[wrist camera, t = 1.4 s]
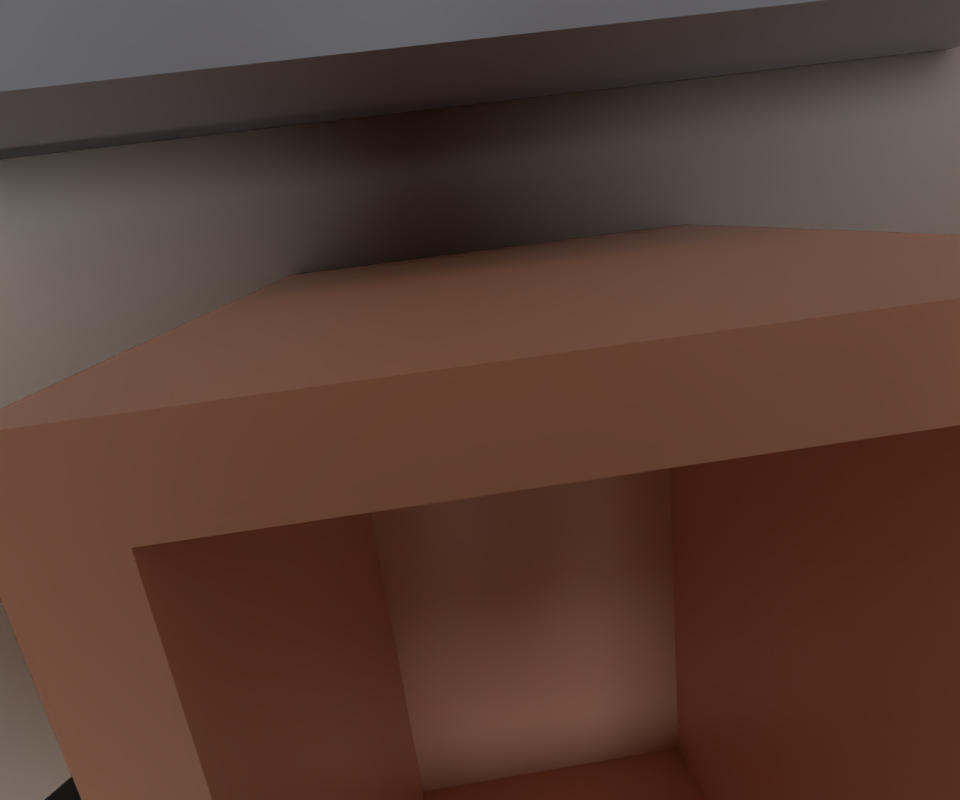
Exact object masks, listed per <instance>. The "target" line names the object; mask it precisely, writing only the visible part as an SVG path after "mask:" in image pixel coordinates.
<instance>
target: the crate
mask: <svg viewBox="0 0 960 800" xmlns="http://www.w3.org/2000/svg"><path fill="white" fill-rule="evenodd" d="M957 46H960V0H0V159H4V158H13V157H21V156H30V155H39V154H47V153H56V152H64V151H73V150H82V149H90V148H99V147H108V146H116V145H125V144H133V143H142V142H151V141H159V140H168V139H177V138H185V137H194V136H202V135H211V134H220V133H228V132H237V131H245V130H254V129H263V128H271V127H280V126H289V125H297V124H306V123H314V122H323V121H332V120H340V119H349V118H358V117H366V116H375V115H383V114H392V113H401V112H409V111H418V110H427V109H435V108H444V107H452V106H461V105H470V104H478V103H487V102H495V101H504V100H513V99H521V98H530V97H539V96H547V95H556V94H564V93H573V92H582V91H590V90H599V89H608V88H616V87H625V86H633V85H642V84H651V83H659V82H668V81H676V80H685V79H694V78H702V77H711V76H720V75H728V74H737V73H745V72H754V71H763V70H771V69H780V68H789V67H797V66H806V65H814V64H823V63H832V62H840V61H849V60H857V59H866V58H875V57H883V56H892V55H901V54H909V53H918V52H926V51H935V50H944V49H951V48H954V47H957Z"/></svg>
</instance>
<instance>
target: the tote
mask: <svg viewBox="0 0 960 800" xmlns="http://www.w3.org/2000/svg"><path fill="white" fill-rule="evenodd" d="M0 599H1V602H2V604H3V606H4V609H5V611H6V614H7V616H8V619H9V621H10V624H11V626H12V629H13V631H14V634H15V636H16V639H17V641H18V644H19V646H20V649H21V651H22V654H23V656H24V659H25V661H26V664H27V666H28V669H29V671H30V673H31V676H32V678H33V681H34V683H35V686H36V688H37V691H38V693H39V696H40V698H41V701H42V703H43V706H44V708H45V711H46V713H47V716H48V718H49V721H50V723H51V726H52V728H53V731H54V733H55V735H56V738H57V740H58V743H59V745H60V748H61V750H62V753H63V755H64V758H65V760H66V763H67V765H68V768H69V770H70V773H71V775H72V778H73V780H74V783H75V785H76V788H77V790H78V793H79V795H80V797H81V800H960V235H951V234H925V233H899V232H873V231H847V230H821V229H795V228H769V227H743V226H717V225H691V224H685V225H677V226H669V227H662V228H654V229H646V230H638V231H630V232H623V233H615V234H607V235H599V236H591V237H584V238H576V239H568V240H560V241H552V242H545V243H537V244H529V245H521V246H513V247H506V248H498V249H490V250H482V251H474V252H467V253H459V254H451V255H443V256H435V257H428V258H420V259H412V260H404V261H396V262H388V263H381V264H373V265H365V266H357V267H349V268H342V269H334V270H326V271H318V272H310V273H303V274H295V275H289V276H287V277H285V278H283V279H281V280H278V281H276V282H274V283H272V284H270V285H268V286H265V287H263V288H261V289H259V290H257V291H255V292H252V293H250V294H248V295H246V296H244V297H242V298H239V299H237V300H235V301H233V302H231V303H229V304H226V305H224V306H222V307H220V308H218V309H216V310H213V311H211V312H209V313H207V314H205V315H203V316H200V317H198V318H196V319H194V320H192V321H190V322H187V323H185V324H183V325H181V326H179V327H177V328H175V329H172V330H170V331H168V332H166V333H164V334H162V335H159V336H157V337H155V338H153V339H151V340H149V341H146V342H144V343H142V344H140V345H138V346H136V347H133V348H131V349H129V350H127V351H125V352H123V353H120V354H118V355H116V356H114V357H112V358H110V359H107V360H105V361H103V362H101V363H99V364H97V365H94V366H92V367H90V368H88V369H86V370H84V371H81V372H79V373H77V374H75V375H73V376H71V377H68V378H66V379H64V380H62V381H60V382H58V383H55V384H53V385H51V386H49V387H47V388H45V389H42V390H40V391H38V392H36V393H34V394H32V395H29V396H27V397H25V398H23V399H21V400H19V401H16V402H14V403H12V404H10V405H8V406H6V407H3V408H1V409H0Z"/></svg>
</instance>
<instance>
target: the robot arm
mask: <svg viewBox="0 0 960 800" xmlns="http://www.w3.org/2000/svg"><path fill="white" fill-rule="evenodd" d="M45 800H81V797H80V795H79V793H78V790H77V788H76V785H75V783H74V780H73V778H72V777H71V778H69V779H68V780H67V781H66V782H65V783H64V784H62V785H61V786H60V787H59V788H58V789H57V790H55V791H54V792H53V793H52V794H51V795H50V796H48V797H47V798H46V799H45Z"/></svg>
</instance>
